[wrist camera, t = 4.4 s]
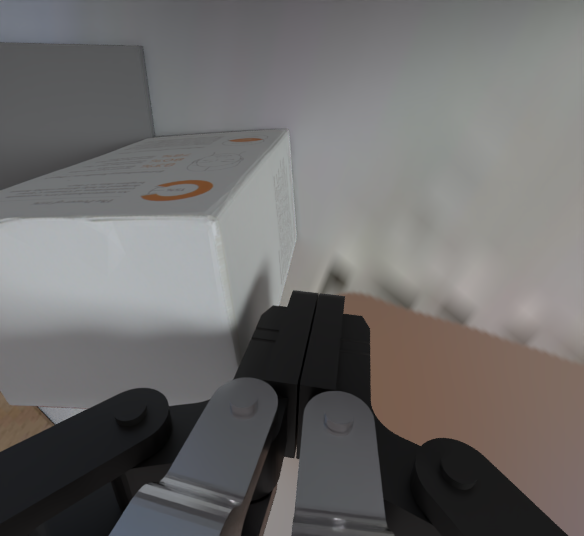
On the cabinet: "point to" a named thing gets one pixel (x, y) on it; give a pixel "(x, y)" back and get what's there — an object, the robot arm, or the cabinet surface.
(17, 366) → the small box
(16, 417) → the wooden block
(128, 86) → the mat
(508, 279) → the cabinet surface
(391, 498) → the robot arm
